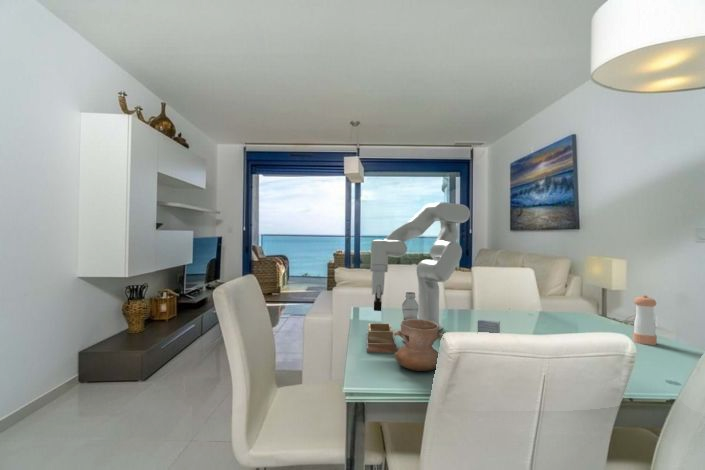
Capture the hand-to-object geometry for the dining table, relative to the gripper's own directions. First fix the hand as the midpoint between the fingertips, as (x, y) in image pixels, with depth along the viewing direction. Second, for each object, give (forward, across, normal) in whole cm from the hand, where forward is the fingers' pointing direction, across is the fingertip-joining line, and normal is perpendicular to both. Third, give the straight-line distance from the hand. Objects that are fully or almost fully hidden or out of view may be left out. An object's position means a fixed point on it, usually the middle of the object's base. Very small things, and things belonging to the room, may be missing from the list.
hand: (377, 310), depth 148 cm
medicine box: (+9, +8, +45) cm, 47 cm away
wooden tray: (+10, +14, +1) cm, 17 cm away
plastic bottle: (+10, +12, +13) cm, 20 cm away
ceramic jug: (+11, +36, +13) cm, 40 cm away
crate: (+9, +10, +1) cm, 13 cm away
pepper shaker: (+7, +5, +109) cm, 109 cm away
